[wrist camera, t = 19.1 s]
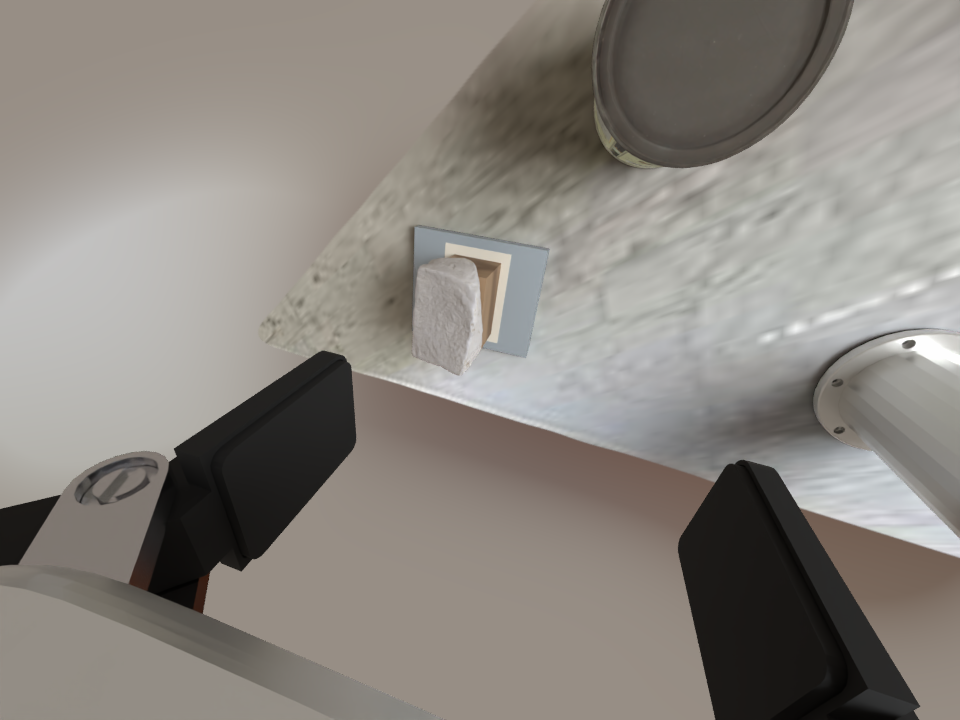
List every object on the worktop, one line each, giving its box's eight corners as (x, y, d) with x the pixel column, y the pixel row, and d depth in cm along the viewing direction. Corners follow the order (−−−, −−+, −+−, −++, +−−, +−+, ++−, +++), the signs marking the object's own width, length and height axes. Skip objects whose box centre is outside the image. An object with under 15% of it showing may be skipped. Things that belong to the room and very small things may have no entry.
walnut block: (501, 263, 36) (486, 278, 31) (490, 333, 40) (476, 357, 35) (455, 254, 37) (433, 267, 32) (449, 324, 41) (429, 346, 36)
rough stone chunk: (454, 256, 35) (418, 243, 30) (512, 272, 32) (483, 262, 27) (429, 352, 37) (391, 356, 32) (481, 375, 34) (448, 384, 29)
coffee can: (729, -29, 24) (861, -221, 12) (744, 135, 28) (859, 109, 16) (577, 54, 28) (566, -30, 16) (608, 188, 32) (617, 199, 20)
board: (549, 248, 36) (548, 250, 35) (527, 353, 42) (525, 358, 41) (419, 225, 38) (414, 226, 37) (416, 327, 44) (411, 330, 43)
